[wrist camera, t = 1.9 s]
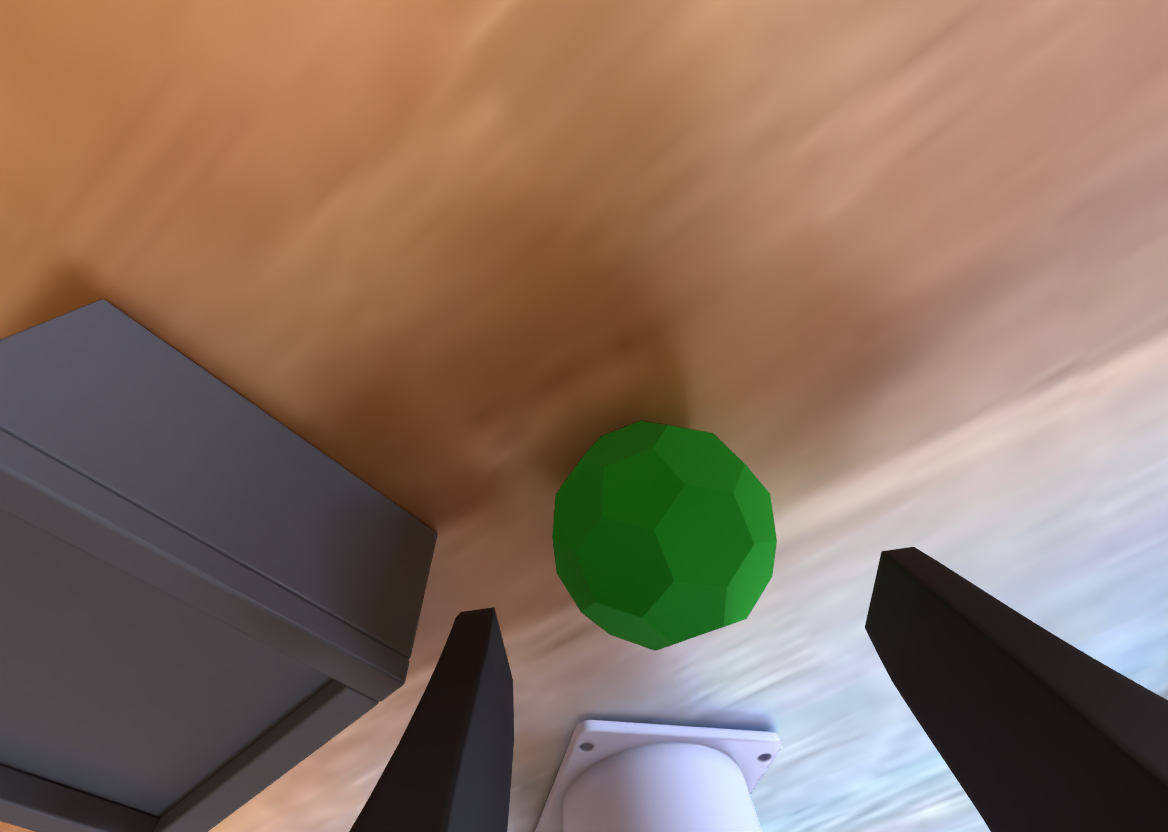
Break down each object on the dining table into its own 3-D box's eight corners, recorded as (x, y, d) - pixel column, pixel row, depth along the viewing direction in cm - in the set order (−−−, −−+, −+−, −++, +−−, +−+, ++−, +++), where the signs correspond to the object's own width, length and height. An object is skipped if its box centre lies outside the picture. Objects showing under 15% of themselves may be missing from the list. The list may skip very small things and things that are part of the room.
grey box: (438, 533, 15) (406, 684, 11) (246, 694, 17) (159, 869, 13) (102, 296, 11) (-138, 393, 7) (-86, 541, 13) (-350, 719, 9)
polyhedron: (539, 398, 13) (546, 523, 9) (736, 377, 13) (833, 490, 9) (558, 553, 16) (570, 710, 11) (725, 533, 16) (798, 680, 12)
